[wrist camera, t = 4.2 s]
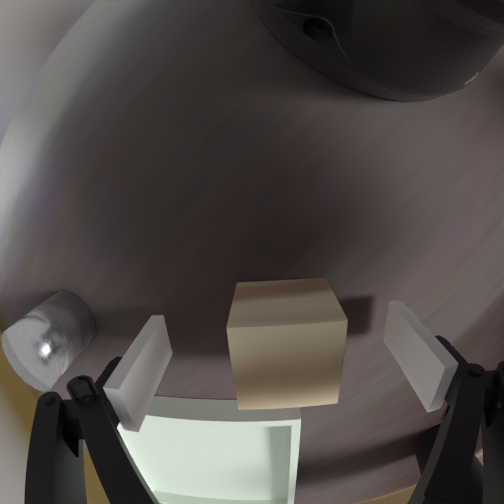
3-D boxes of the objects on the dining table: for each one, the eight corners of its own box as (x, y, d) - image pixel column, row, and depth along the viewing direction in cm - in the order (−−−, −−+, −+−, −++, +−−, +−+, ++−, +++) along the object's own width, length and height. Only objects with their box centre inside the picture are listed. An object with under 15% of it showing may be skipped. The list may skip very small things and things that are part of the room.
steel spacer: (44, 290, 17) (-8, 326, 11) (86, 290, 17) (32, 334, 11) (61, 340, 18) (19, 383, 13) (103, 345, 18) (62, 397, 12)
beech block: (237, 282, 16) (226, 327, 12) (325, 276, 16) (347, 320, 11) (244, 353, 18) (238, 409, 13) (322, 349, 17) (337, 403, 13)
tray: (90, 386, 20) (79, 402, 17) (298, 397, 19) (301, 419, 16) (152, 487, 25) (148, 500, 23) (292, 496, 24) (292, 511, 22)
